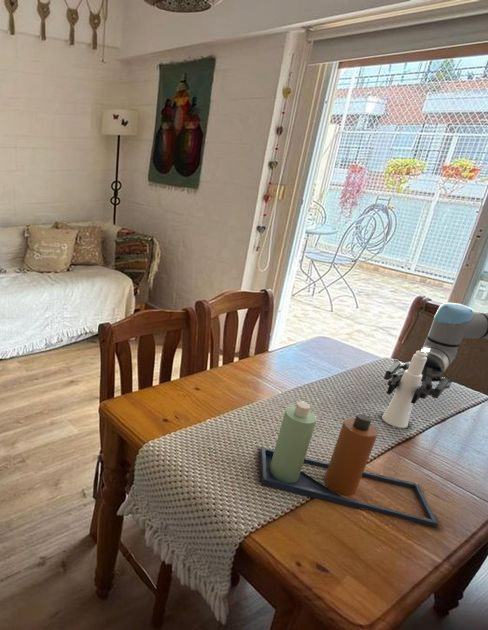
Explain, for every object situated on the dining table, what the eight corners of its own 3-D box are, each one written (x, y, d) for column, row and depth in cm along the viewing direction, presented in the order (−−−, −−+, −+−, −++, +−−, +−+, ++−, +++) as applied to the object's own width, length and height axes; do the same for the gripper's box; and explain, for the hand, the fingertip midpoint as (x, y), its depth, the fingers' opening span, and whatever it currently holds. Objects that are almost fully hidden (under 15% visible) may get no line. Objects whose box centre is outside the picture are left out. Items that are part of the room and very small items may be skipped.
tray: (414, 491, 95) (418, 483, 95) (434, 532, 86) (438, 523, 85) (259, 454, 105) (261, 446, 104) (261, 487, 95) (263, 479, 95)
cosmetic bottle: (383, 415, 121) (410, 344, 112) (409, 425, 117) (439, 353, 108) (376, 423, 117) (404, 351, 109) (403, 435, 113) (434, 360, 104)
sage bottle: (304, 475, 98) (325, 407, 90) (289, 487, 95) (310, 417, 87) (279, 460, 102) (297, 393, 95) (264, 470, 99) (282, 402, 92)
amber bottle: (360, 489, 94) (387, 419, 87) (346, 501, 91) (373, 430, 84) (331, 472, 99) (355, 404, 92) (318, 483, 96) (341, 414, 88)
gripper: (462, 390, 118) (439, 423, 105) (387, 364, 131) (358, 391, 117) (473, 366, 115) (451, 397, 102) (395, 342, 128) (367, 366, 114)
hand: (402, 393), depth 109 cm, fingers open, 4 cm apart
